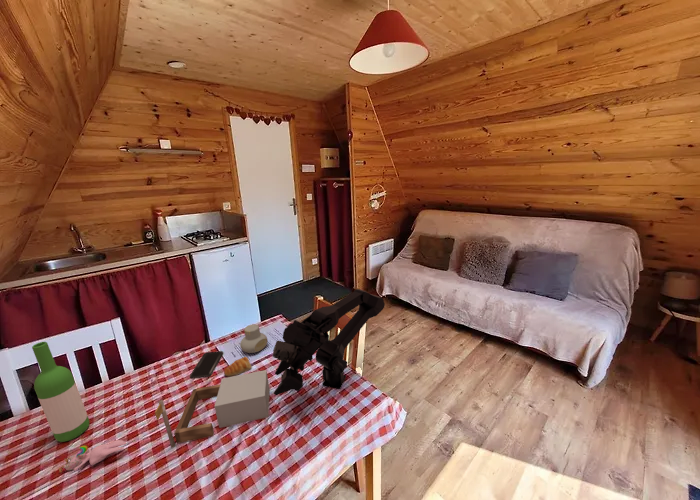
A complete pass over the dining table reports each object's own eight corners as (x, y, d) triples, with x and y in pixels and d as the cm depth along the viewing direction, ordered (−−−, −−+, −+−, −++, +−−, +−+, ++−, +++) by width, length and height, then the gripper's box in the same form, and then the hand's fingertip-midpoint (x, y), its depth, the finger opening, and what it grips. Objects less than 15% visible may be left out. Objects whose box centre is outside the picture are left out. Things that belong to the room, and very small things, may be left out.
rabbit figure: (58, 483, 75) (122, 460, 77) (46, 466, 73) (111, 444, 75) (74, 460, 81) (133, 440, 83) (63, 444, 79) (123, 424, 81)
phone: (223, 350, 123) (210, 375, 108) (224, 353, 123) (210, 377, 109) (204, 352, 122) (188, 377, 108) (204, 355, 123) (188, 379, 108)
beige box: (269, 389, 101) (266, 369, 99) (268, 417, 89) (264, 395, 87) (226, 398, 98) (222, 378, 96) (219, 428, 87) (214, 406, 84)
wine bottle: (63, 427, 90) (28, 341, 82) (94, 417, 93) (64, 333, 85) (50, 448, 83) (11, 356, 75) (84, 437, 86) (50, 347, 78)
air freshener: (251, 358, 118) (248, 336, 115) (237, 353, 122) (233, 331, 119) (271, 344, 127) (268, 323, 124) (258, 339, 131) (254, 319, 128)
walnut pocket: (225, 392, 100) (217, 354, 96) (209, 448, 80) (198, 403, 76) (191, 398, 99) (182, 360, 94) (166, 457, 78) (153, 411, 74)
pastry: (228, 381, 106) (226, 372, 105) (222, 372, 111) (220, 363, 110) (253, 369, 112) (251, 360, 111) (246, 361, 117) (244, 352, 116)
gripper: (286, 319, 99) (257, 354, 100) (286, 352, 81) (250, 393, 82) (312, 336, 102) (283, 369, 103) (317, 371, 85) (283, 410, 86)
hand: (275, 383), depth 93 cm, fingers open, 9 cm apart
